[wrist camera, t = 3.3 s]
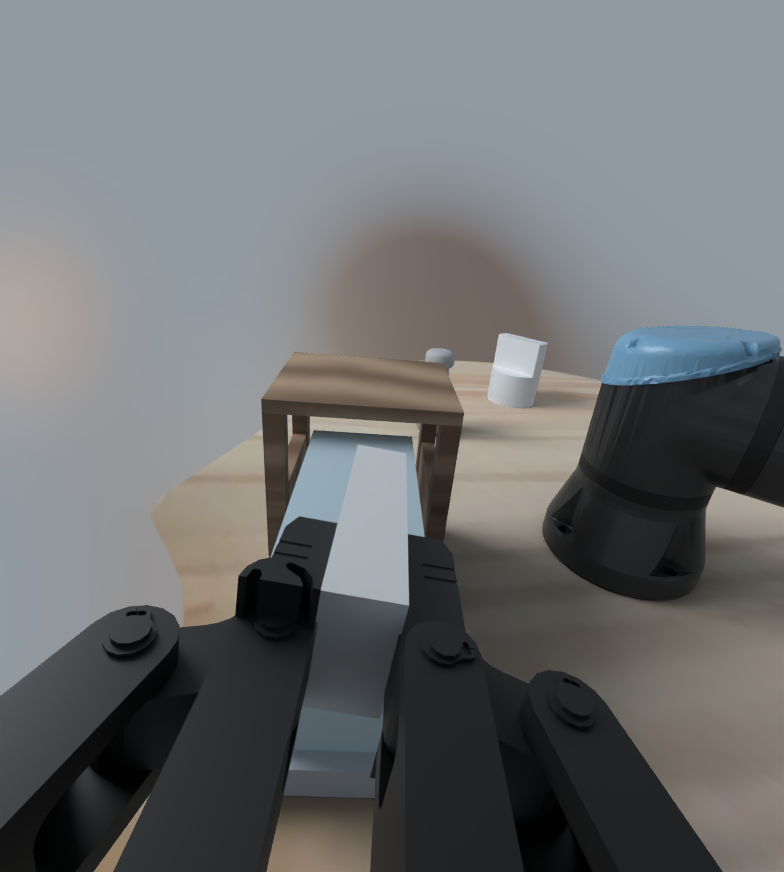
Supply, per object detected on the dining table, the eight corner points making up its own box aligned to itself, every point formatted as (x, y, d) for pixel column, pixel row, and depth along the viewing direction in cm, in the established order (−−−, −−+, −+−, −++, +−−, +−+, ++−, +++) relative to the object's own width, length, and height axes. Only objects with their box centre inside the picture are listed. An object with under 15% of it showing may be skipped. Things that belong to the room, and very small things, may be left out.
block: (402, 753, 25) (429, 575, 20) (276, 749, 25) (267, 566, 19) (396, 575, 38) (411, 436, 32) (313, 571, 37) (313, 430, 32)
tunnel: (432, 608, 38) (463, 412, 30) (270, 600, 37) (261, 398, 30) (421, 523, 49) (442, 362, 41) (296, 515, 48) (294, 351, 41)
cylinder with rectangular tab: (478, 397, 88) (488, 336, 82) (502, 388, 94) (513, 331, 88) (519, 412, 82) (533, 347, 77) (542, 401, 88) (556, 341, 83)
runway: (450, 800, 25) (457, 774, 24) (217, 794, 25) (213, 767, 24) (418, 522, 49) (421, 503, 48) (298, 516, 48) (298, 496, 47)
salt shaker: (412, 421, 74) (420, 343, 69) (446, 423, 74) (457, 346, 69) (413, 436, 69) (422, 353, 63) (450, 439, 69) (463, 356, 63)
